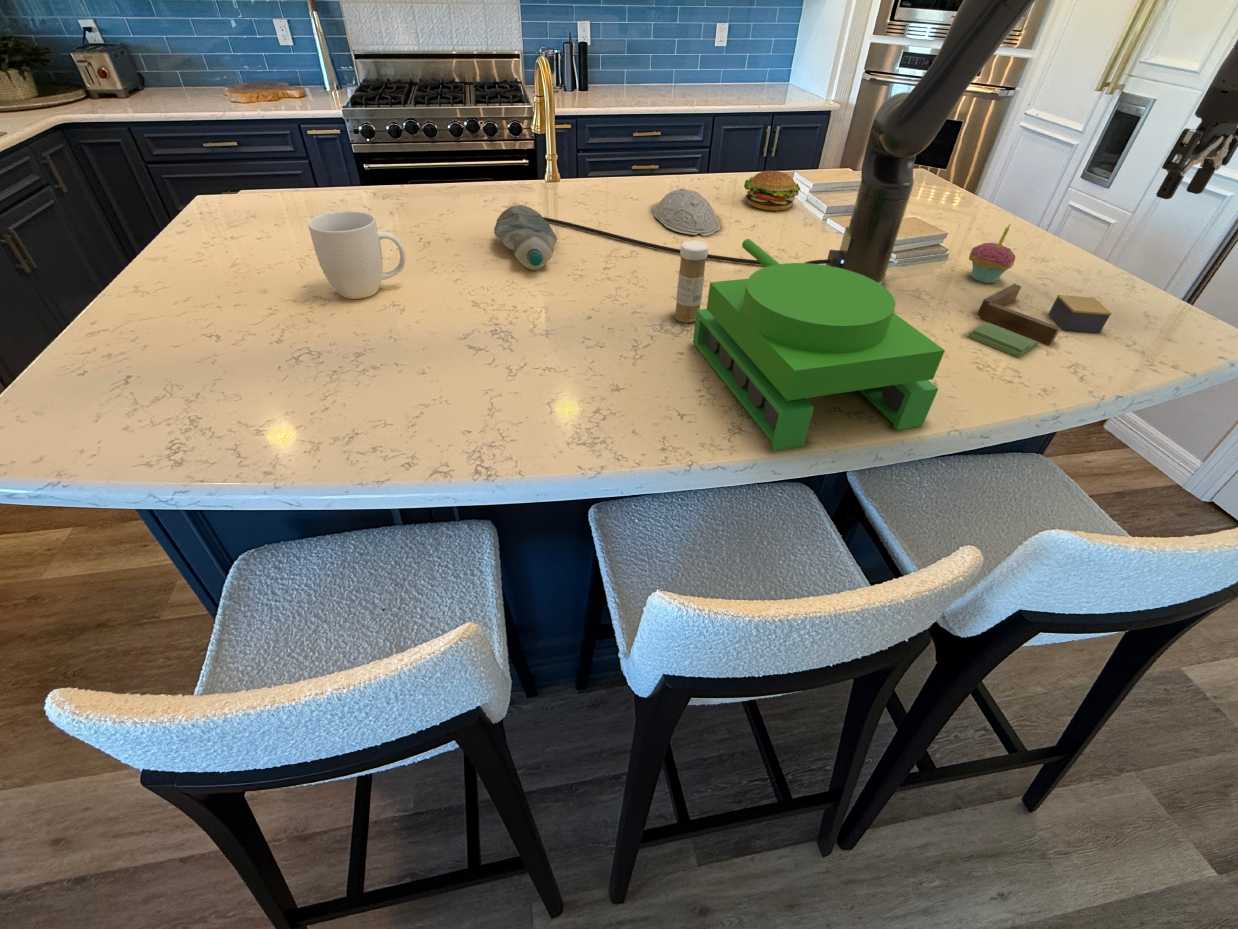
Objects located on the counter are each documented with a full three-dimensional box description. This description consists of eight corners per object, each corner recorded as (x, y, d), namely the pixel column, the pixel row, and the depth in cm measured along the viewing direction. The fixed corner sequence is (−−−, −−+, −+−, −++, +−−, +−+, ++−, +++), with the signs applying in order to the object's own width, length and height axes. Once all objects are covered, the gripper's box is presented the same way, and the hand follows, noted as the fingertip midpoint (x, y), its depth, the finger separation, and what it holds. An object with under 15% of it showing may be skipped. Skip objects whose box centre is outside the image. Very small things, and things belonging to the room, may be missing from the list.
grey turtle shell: (704, 199, 165) (705, 172, 160) (730, 238, 147) (732, 209, 142) (646, 205, 164) (645, 179, 159) (665, 246, 146) (664, 217, 141)
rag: (967, 336, 112) (970, 329, 111) (986, 326, 115) (989, 319, 114) (1018, 357, 106) (1021, 350, 105) (1036, 345, 110) (1039, 338, 109)
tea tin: (1062, 330, 115) (1073, 310, 112) (1047, 314, 120) (1057, 294, 117) (1100, 333, 114) (1112, 313, 112) (1083, 316, 119) (1094, 297, 117)
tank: (803, 316, 115) (825, 226, 105) (925, 425, 90) (970, 321, 79) (680, 330, 110) (690, 236, 99) (772, 451, 84) (799, 343, 74)
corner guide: (997, 341, 111) (1004, 325, 109) (962, 294, 125) (968, 280, 124) (1055, 345, 110) (1063, 330, 108) (1012, 298, 125) (1019, 283, 123)
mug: (408, 274, 123) (395, 206, 115) (414, 298, 116) (401, 226, 107) (326, 283, 119) (307, 212, 111) (327, 308, 111) (306, 234, 103)
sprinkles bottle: (690, 310, 116) (699, 237, 107) (704, 321, 112) (713, 247, 104) (669, 315, 114) (676, 241, 105) (682, 326, 111) (690, 250, 102)
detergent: (492, 234, 141) (499, 277, 122) (492, 201, 137) (498, 240, 118) (550, 236, 144) (565, 279, 125) (552, 204, 140) (568, 243, 121)
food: (806, 204, 167) (813, 172, 162) (779, 216, 158) (785, 183, 153) (761, 192, 173) (766, 161, 168) (733, 203, 165) (738, 171, 160)
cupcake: (1009, 288, 128) (1036, 229, 121) (966, 284, 129) (990, 225, 122) (999, 272, 135) (1024, 215, 127) (957, 268, 136) (979, 211, 128)
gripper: (1240, 79, 101) (1180, 185, 112) (1188, 82, 97) (1130, 193, 107) (1294, 87, 96) (1226, 197, 107) (1242, 91, 91) (1175, 206, 102)
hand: (1178, 195), depth 107 cm, fingers open, 8 cm apart
